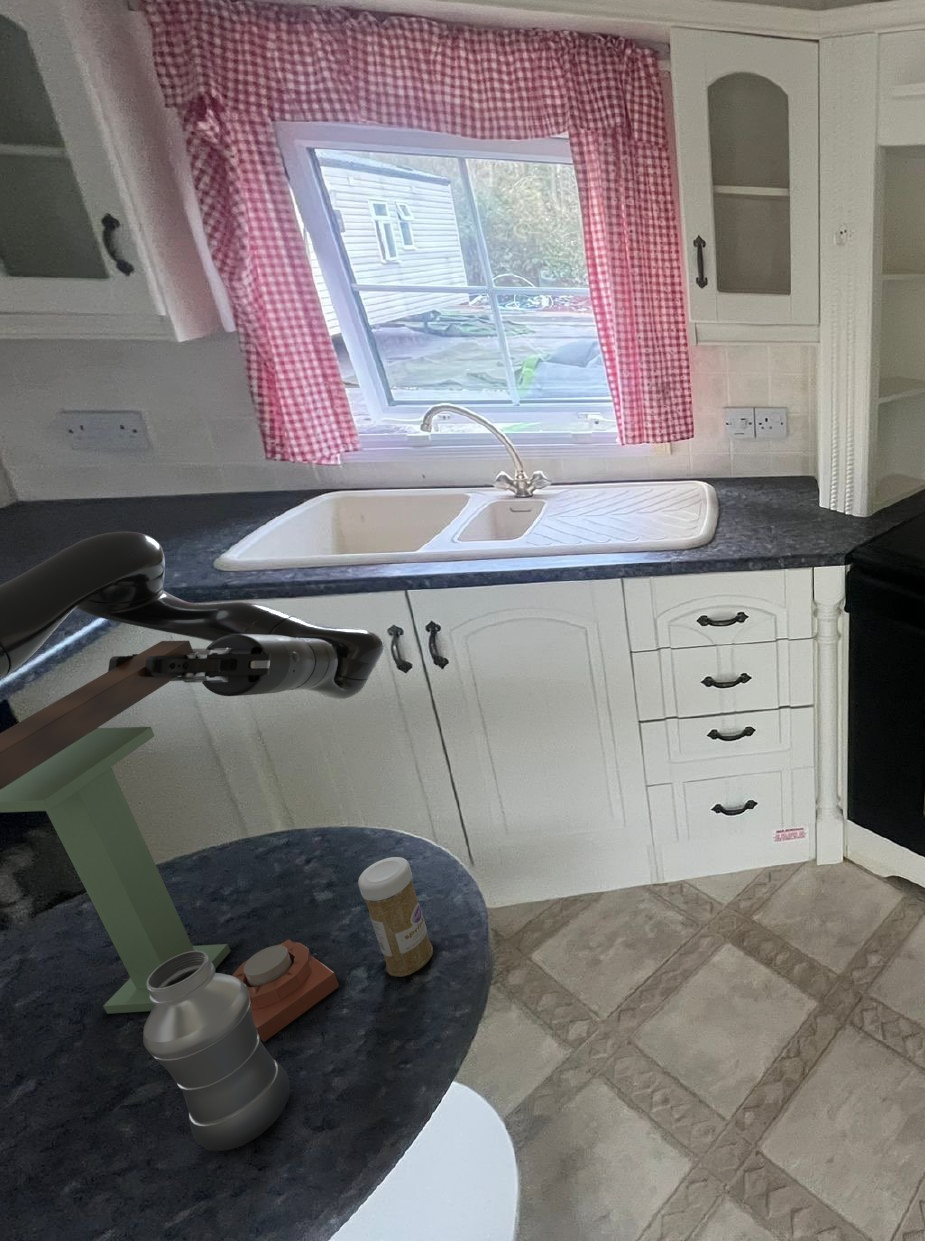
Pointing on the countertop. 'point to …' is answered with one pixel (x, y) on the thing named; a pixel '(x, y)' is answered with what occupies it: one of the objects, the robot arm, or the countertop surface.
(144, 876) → the shelf stand
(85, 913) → the countertop surface
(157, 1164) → the countertop surface
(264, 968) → the push button
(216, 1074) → the grey bottle
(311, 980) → the orange button pad
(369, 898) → the sprinkles bottle
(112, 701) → the brown wooden bar
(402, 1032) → the countertop surface
